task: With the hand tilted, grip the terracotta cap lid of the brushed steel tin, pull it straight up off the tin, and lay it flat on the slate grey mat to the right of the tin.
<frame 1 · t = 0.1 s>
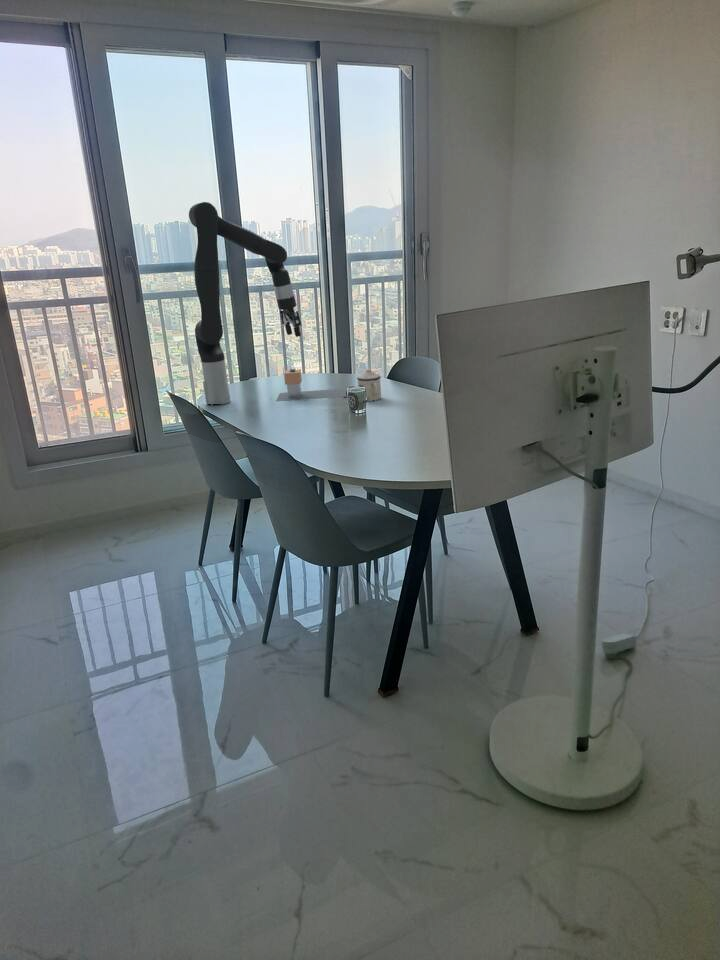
hand: (294, 335, 275), 22 cm above the table, tool pointing down, fingers open, 8 cm apart
steel tin: (295, 395, 268), resting on slate mat
cap lid: (293, 382, 266), point 6 cm above the table, touching steel tin
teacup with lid: (371, 400, 255), on the table
slate mat: (312, 395, 268), on the table
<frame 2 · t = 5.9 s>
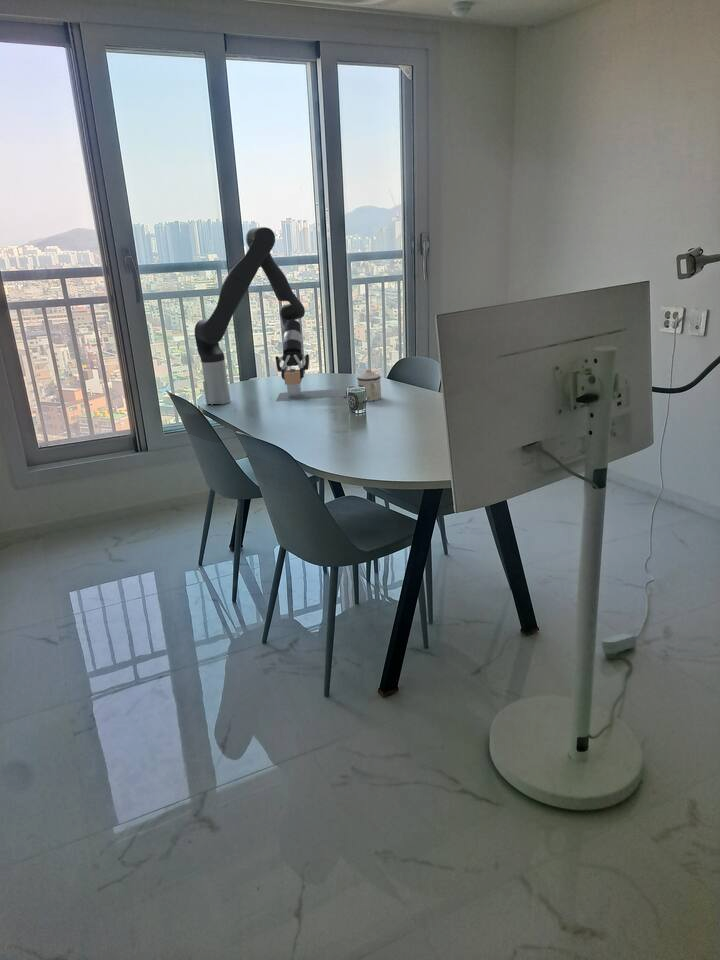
hand: (292, 378, 264), 8 cm above the table, tool tilted 45°, fingers closed on cap lid, 6 cm apart
cap lid: (293, 382, 266), point 6 cm above the table, touching gripper, steel tin
everything else where it was.
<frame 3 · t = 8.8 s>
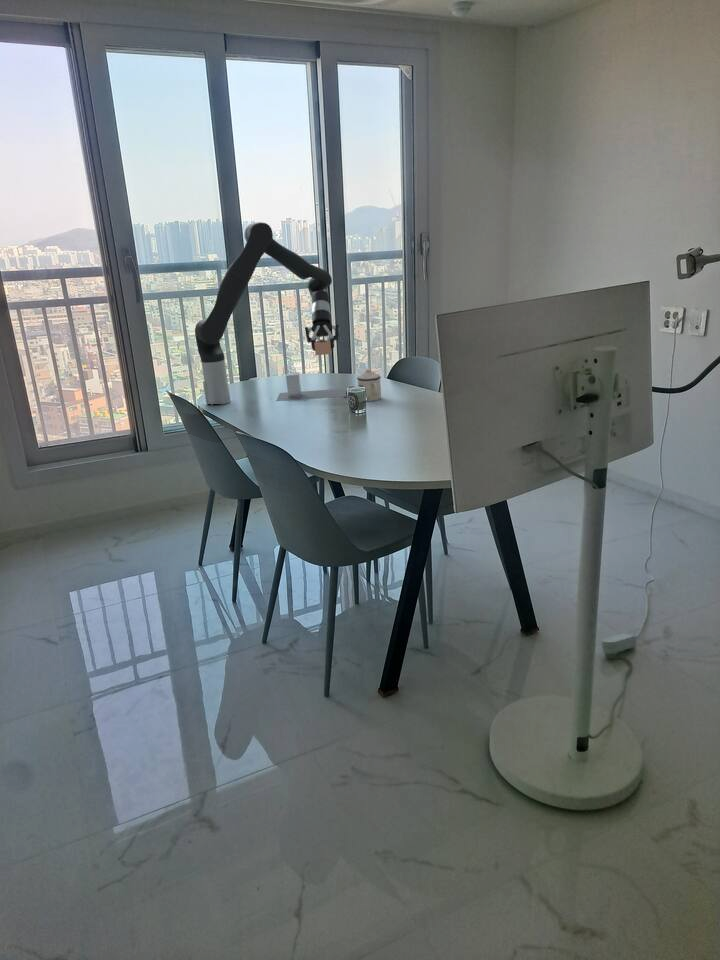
hand: (323, 348, 260), 19 cm above the table, tool tilted 45°, fingers closed on cap lid, 6 cm apart
cap lid: (323, 353, 262), point 17 cm above the table, touching gripper
everything else where it was.
when the fingers open (4 cm above the table, at t = 12.2 s): cap lid drops 2 cm, resting on slate mat.
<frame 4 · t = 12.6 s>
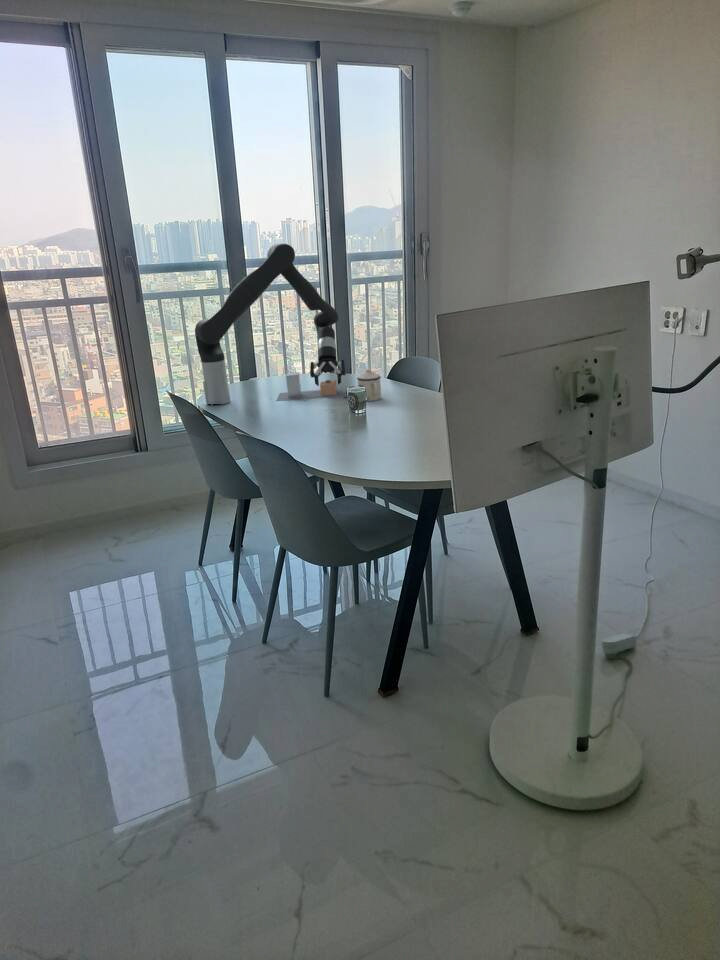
hand: (328, 384, 265), 5 cm above the table, tool tilted 45°, fingers open, 8 cm apart
cap lid: (329, 393, 268), resting on slate mat
everything else where it was.
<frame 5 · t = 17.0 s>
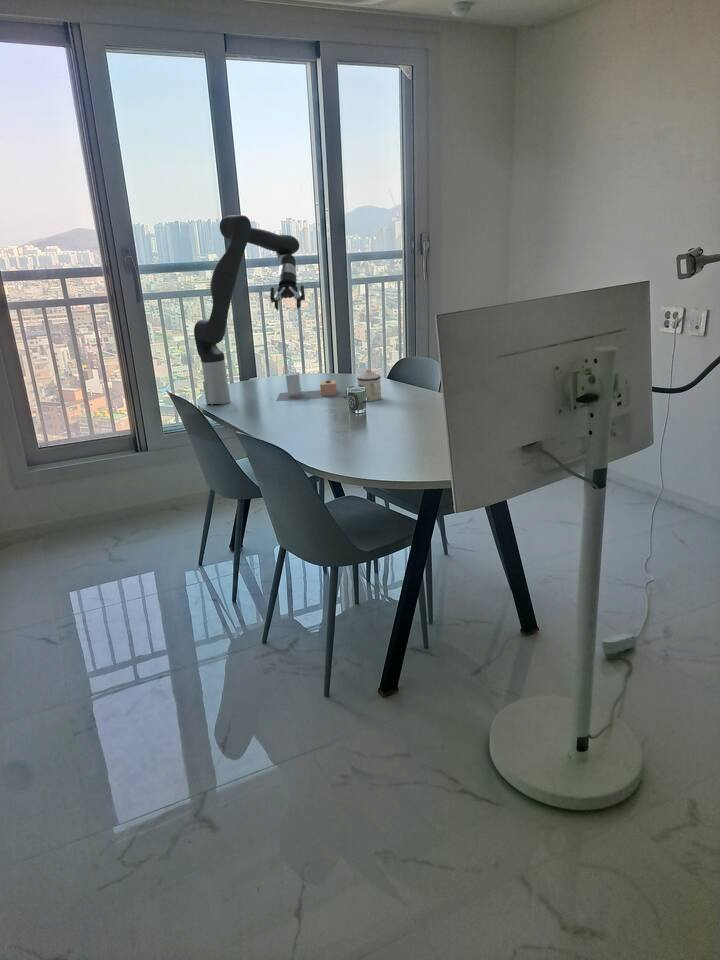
hand: (287, 308, 271), 34 cm above the table, tool tilted 45°, fingers open, 8 cm apart
nothing on the table moved.
at the end: cap lid inside the target area on the table beside the steel tin (0.1 cm from its centre), resting on slate mat; cap lid tilted 0°; the gripper is holding nothing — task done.
